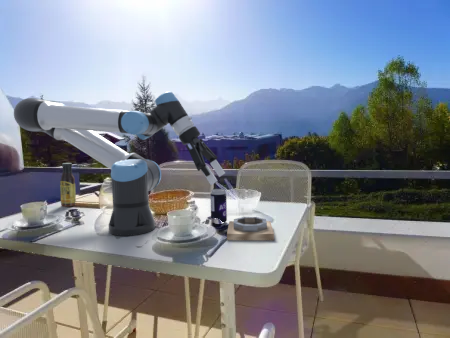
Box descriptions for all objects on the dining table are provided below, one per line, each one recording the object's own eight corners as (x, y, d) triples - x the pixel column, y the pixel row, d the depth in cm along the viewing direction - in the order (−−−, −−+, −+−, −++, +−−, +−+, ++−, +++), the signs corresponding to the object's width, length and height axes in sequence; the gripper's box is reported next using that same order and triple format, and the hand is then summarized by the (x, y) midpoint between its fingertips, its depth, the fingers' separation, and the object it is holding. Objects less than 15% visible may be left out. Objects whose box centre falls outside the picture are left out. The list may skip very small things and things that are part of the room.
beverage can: (220, 226, 113) (219, 192, 111) (207, 223, 116) (207, 190, 115) (229, 222, 117) (229, 189, 116) (217, 220, 121) (217, 188, 119)
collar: (233, 231, 99) (233, 225, 99) (234, 222, 109) (234, 216, 109) (267, 232, 98) (267, 225, 98) (265, 222, 109) (265, 216, 108)
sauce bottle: (57, 207, 148) (54, 163, 146) (68, 204, 154) (65, 162, 152) (69, 207, 146) (66, 163, 144) (79, 204, 152) (76, 162, 150)
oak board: (227, 240, 98) (227, 233, 97) (229, 226, 111) (229, 221, 111) (273, 240, 97) (273, 233, 96) (270, 227, 111) (270, 221, 110)
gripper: (183, 127, 106) (219, 181, 107) (203, 123, 130) (232, 167, 131) (166, 139, 108) (201, 192, 109) (188, 133, 132) (217, 177, 133)
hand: (218, 179), depth 120 cm, fingers open, 13 cm apart
